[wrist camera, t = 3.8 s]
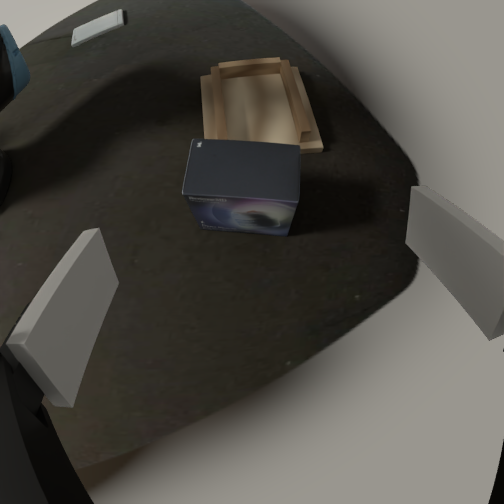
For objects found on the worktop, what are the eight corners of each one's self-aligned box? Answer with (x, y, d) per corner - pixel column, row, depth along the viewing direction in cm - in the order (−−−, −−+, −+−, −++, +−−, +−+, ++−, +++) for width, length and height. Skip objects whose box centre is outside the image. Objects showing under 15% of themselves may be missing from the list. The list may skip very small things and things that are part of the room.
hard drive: (70, 44, 48) (122, 21, 49) (73, 28, 50) (121, 7, 51) (73, 49, 49) (124, 27, 50) (75, 33, 51) (123, 12, 52)
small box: (198, 233, 37) (177, 196, 27) (205, 183, 39) (190, 135, 29) (288, 240, 37) (299, 203, 27) (290, 189, 38) (301, 141, 28)
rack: (207, 165, 39) (203, 149, 36) (201, 81, 43) (198, 65, 40) (321, 152, 40) (326, 136, 36) (296, 72, 44) (298, 55, 40)
